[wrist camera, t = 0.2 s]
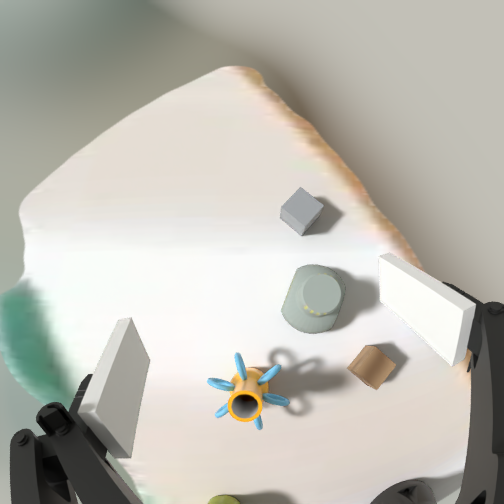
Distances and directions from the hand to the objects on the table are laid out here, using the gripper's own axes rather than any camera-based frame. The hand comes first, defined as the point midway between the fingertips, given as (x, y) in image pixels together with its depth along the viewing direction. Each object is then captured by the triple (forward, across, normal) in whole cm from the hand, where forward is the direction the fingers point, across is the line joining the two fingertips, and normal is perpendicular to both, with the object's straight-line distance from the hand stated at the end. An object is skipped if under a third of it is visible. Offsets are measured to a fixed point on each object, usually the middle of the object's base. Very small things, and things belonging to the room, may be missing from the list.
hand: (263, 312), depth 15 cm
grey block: (+38, -13, +5) cm, 40 cm away
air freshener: (+30, -10, +18) cm, 36 cm away
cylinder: (+24, +3, +27) cm, 37 cm away
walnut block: (+22, -17, +29) cm, 40 cm away
